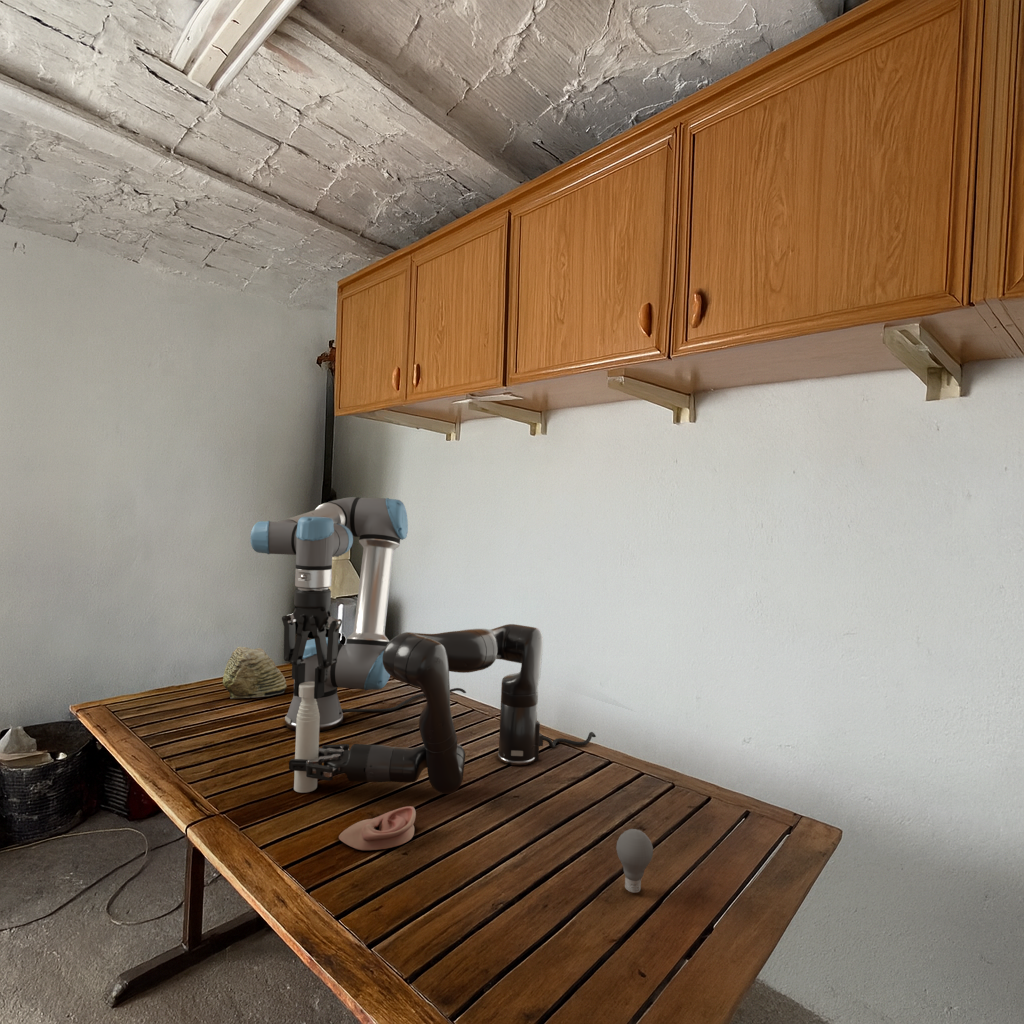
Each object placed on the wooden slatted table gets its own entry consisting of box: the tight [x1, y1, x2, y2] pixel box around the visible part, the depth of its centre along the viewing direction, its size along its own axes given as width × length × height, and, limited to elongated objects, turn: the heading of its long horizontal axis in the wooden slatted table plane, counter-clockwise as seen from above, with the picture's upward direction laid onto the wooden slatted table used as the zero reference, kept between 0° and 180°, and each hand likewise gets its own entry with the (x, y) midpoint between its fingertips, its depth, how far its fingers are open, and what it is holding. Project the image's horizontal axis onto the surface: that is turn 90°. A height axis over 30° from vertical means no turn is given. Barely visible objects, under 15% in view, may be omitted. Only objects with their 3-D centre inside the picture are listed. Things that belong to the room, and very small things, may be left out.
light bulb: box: [615, 828, 654, 894], centre depth 106 cm, size 6×6×10 cm
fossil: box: [222, 646, 288, 699], centre depth 198 cm, size 9×18×15 cm, turn 132°
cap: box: [299, 682, 315, 698], centre depth 137 cm, size 4×4×2 cm
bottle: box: [293, 698, 320, 794], centre depth 137 cm, size 5×5×22 cm
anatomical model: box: [338, 805, 417, 851], centre depth 119 cm, size 13×4×12 cm
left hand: (309, 695), depth 137 cm, fingers closed on cap, 4 cm apart
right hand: (294, 759), depth 137 cm, fingers closed on bottle, 5 cm apart
